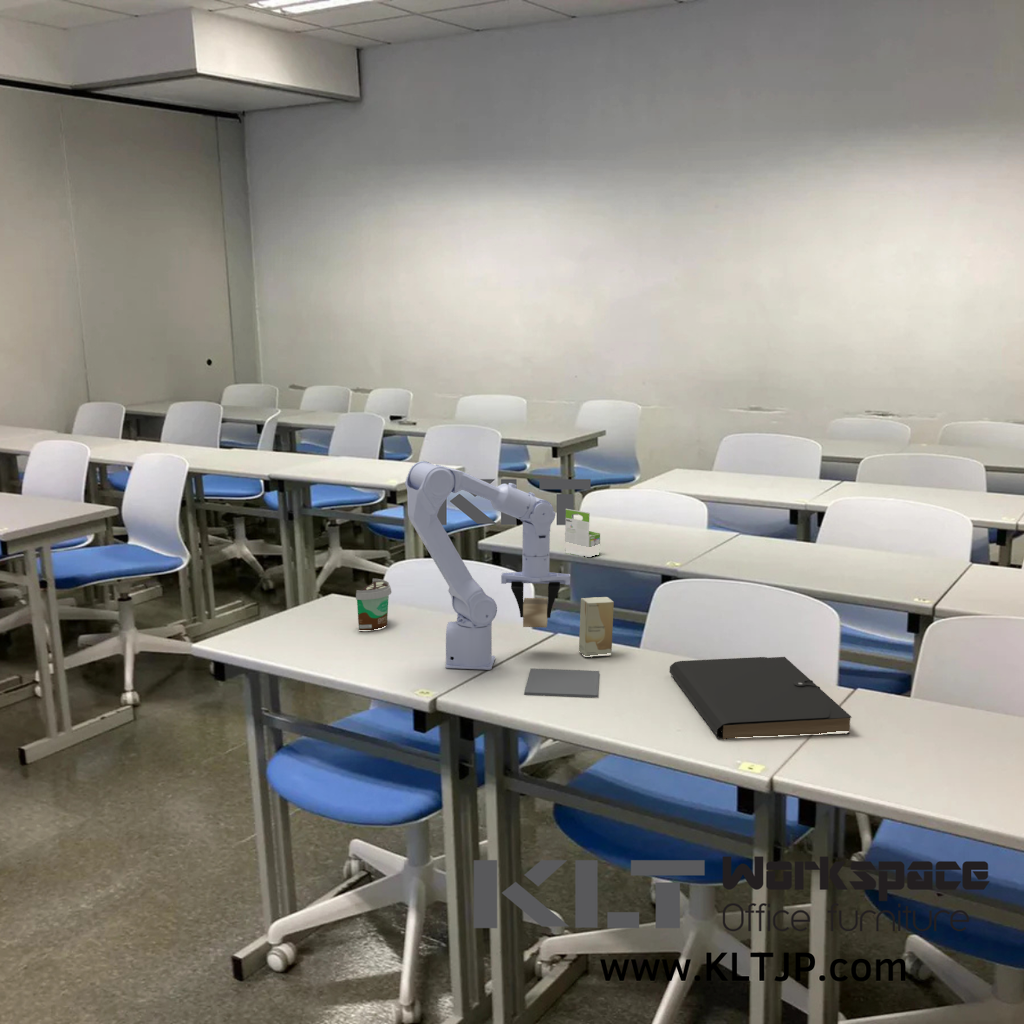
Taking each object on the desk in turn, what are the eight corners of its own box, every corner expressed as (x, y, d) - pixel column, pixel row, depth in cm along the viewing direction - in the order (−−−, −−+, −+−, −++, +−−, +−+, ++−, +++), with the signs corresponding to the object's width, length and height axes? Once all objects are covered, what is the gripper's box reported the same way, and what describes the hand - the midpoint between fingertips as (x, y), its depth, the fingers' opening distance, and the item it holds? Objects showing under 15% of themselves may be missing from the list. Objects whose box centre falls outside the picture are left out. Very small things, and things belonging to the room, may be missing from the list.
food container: (382, 635, 237) (381, 592, 235) (356, 633, 238) (355, 590, 236) (398, 620, 249) (398, 579, 247) (374, 618, 250) (373, 577, 248)
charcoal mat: (524, 694, 199) (524, 692, 199) (530, 670, 213) (530, 668, 213) (597, 697, 198) (597, 695, 198) (599, 673, 212) (599, 670, 212)
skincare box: (584, 659, 221) (585, 603, 218) (578, 652, 225) (579, 597, 222) (613, 656, 222) (614, 601, 220) (606, 650, 226) (607, 595, 224)
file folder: (853, 715, 180) (716, 721, 178) (852, 737, 181) (716, 744, 179) (785, 654, 212) (669, 660, 210) (784, 674, 213) (669, 679, 211)
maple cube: (523, 627, 220) (523, 604, 219) (524, 620, 225) (524, 597, 224) (546, 627, 220) (546, 604, 219) (547, 620, 225) (547, 598, 224)
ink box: (600, 556, 317) (601, 510, 314) (588, 558, 313) (589, 513, 311) (575, 550, 324) (576, 506, 322) (564, 553, 321) (564, 508, 318)
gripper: (500, 557, 216) (500, 620, 218) (570, 558, 215) (569, 622, 218) (502, 550, 223) (502, 611, 225) (570, 551, 222) (569, 613, 225)
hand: (535, 616), depth 222 cm, fingers closed on maple cube, 5 cm apart
